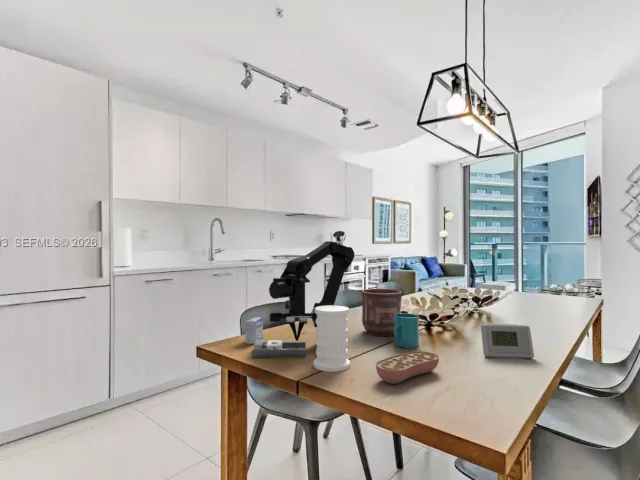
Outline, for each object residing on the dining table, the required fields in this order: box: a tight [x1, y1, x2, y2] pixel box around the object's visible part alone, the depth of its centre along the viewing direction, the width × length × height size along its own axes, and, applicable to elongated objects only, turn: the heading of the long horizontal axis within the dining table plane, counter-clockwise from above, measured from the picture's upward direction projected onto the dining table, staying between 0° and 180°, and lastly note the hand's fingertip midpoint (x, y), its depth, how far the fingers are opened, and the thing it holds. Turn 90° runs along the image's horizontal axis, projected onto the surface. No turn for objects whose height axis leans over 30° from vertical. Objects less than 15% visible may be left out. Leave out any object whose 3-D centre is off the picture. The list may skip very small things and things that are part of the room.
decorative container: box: [312, 304, 351, 373], centre depth 118 cm, size 12×12×18 cm
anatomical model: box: [375, 350, 440, 385], centre depth 108 cm, size 23×10×5 cm, turn 128°
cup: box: [393, 312, 420, 349], centre depth 140 cm, size 9×12×11 cm
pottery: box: [361, 288, 403, 337], centre depth 161 cm, size 18×18×18 cm
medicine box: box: [244, 316, 264, 345], centre depth 146 cm, size 8×4×9 cm, turn 168°
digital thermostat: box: [480, 323, 535, 360], centre depth 128 cm, size 16×9×11 cm, turn 71°
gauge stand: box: [251, 338, 307, 359], centre depth 131 cm, size 18×10×4 cm, turn 93°
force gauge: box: [263, 339, 283, 349], centre depth 130 cm, size 6×9×2 cm
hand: (296, 340), depth 131 cm, fingers closed
